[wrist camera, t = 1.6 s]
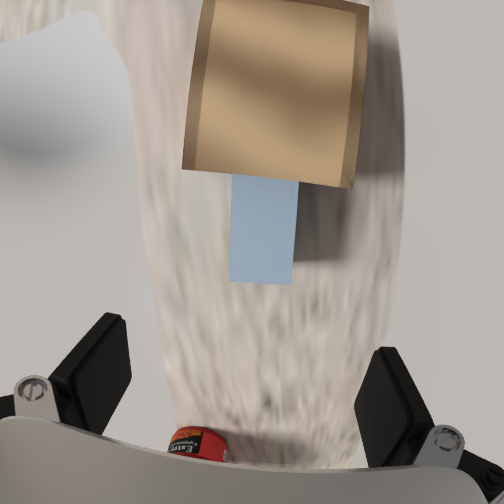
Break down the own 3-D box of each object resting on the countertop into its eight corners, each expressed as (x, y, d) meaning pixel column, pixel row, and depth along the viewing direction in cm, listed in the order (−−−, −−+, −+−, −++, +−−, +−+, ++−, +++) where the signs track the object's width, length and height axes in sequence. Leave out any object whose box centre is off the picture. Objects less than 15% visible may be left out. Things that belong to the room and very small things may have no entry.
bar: (241, 119, 25) (234, 113, 20) (296, 122, 24) (302, 116, 20) (236, 258, 28) (229, 281, 24) (287, 261, 28) (290, 284, 24)
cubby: (223, 28, 22) (205, -13, 14) (342, 42, 22) (369, 6, 14) (207, 162, 26) (181, 169, 18) (328, 176, 25) (352, 189, 18)
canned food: (197, 417, 35) (178, 489, 25) (241, 447, 37) (234, 515, 26) (161, 435, 37) (139, 498, 27) (203, 463, 39) (191, 524, 28)
